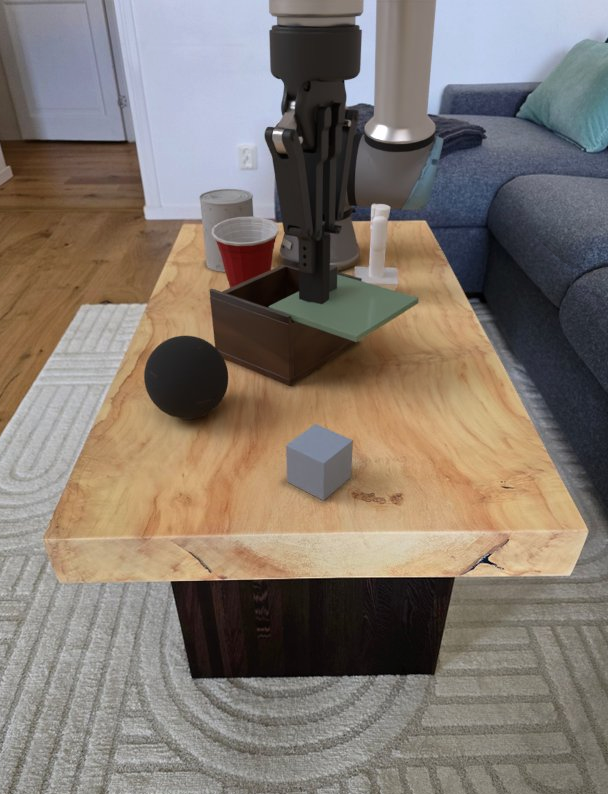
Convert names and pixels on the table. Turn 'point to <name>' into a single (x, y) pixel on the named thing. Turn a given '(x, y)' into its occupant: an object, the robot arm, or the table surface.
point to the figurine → (378, 252)
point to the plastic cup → (245, 246)
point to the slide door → (348, 307)
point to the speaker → (186, 377)
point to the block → (319, 461)
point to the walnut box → (270, 328)
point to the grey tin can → (221, 218)
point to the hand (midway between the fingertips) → (314, 299)
